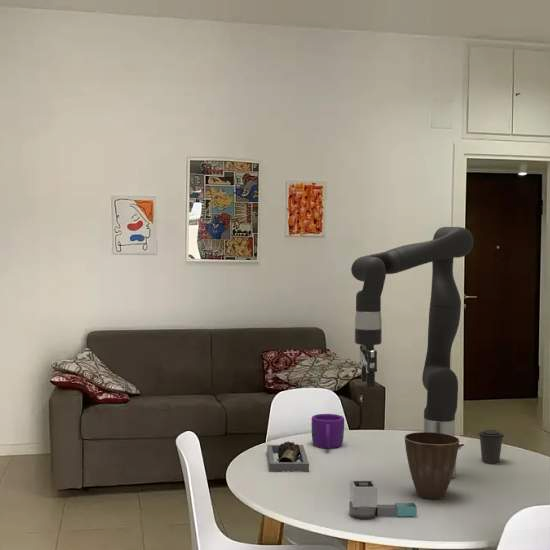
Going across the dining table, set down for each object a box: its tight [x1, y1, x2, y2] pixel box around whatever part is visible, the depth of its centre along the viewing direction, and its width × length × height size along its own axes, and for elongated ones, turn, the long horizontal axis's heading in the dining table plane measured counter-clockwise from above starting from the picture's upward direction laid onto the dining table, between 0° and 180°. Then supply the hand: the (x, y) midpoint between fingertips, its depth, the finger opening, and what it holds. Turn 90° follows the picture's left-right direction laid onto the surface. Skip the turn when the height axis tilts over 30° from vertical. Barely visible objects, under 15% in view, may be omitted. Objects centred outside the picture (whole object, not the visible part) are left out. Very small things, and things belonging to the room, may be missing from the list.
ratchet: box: [348, 483, 418, 521], centre depth 196 cm, size 17×7×8 cm, turn 92°
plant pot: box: [404, 431, 460, 500], centre depth 212 cm, size 15×15×16 cm
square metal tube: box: [349, 479, 378, 507], centre depth 195 cm, size 6×6×5 cm
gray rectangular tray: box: [266, 444, 310, 473], centre depth 245 cm, size 12×23×2 cm, turn 2°
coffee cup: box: [478, 429, 505, 465], centre depth 247 cm, size 8×8×10 cm
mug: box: [311, 413, 345, 449], centre depth 263 cm, size 17×11×10 cm, turn 176°
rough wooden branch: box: [277, 441, 300, 462], centre depth 244 cm, size 18×7×6 cm, turn 170°
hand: (367, 384), depth 218 cm, fingers open, 8 cm apart
